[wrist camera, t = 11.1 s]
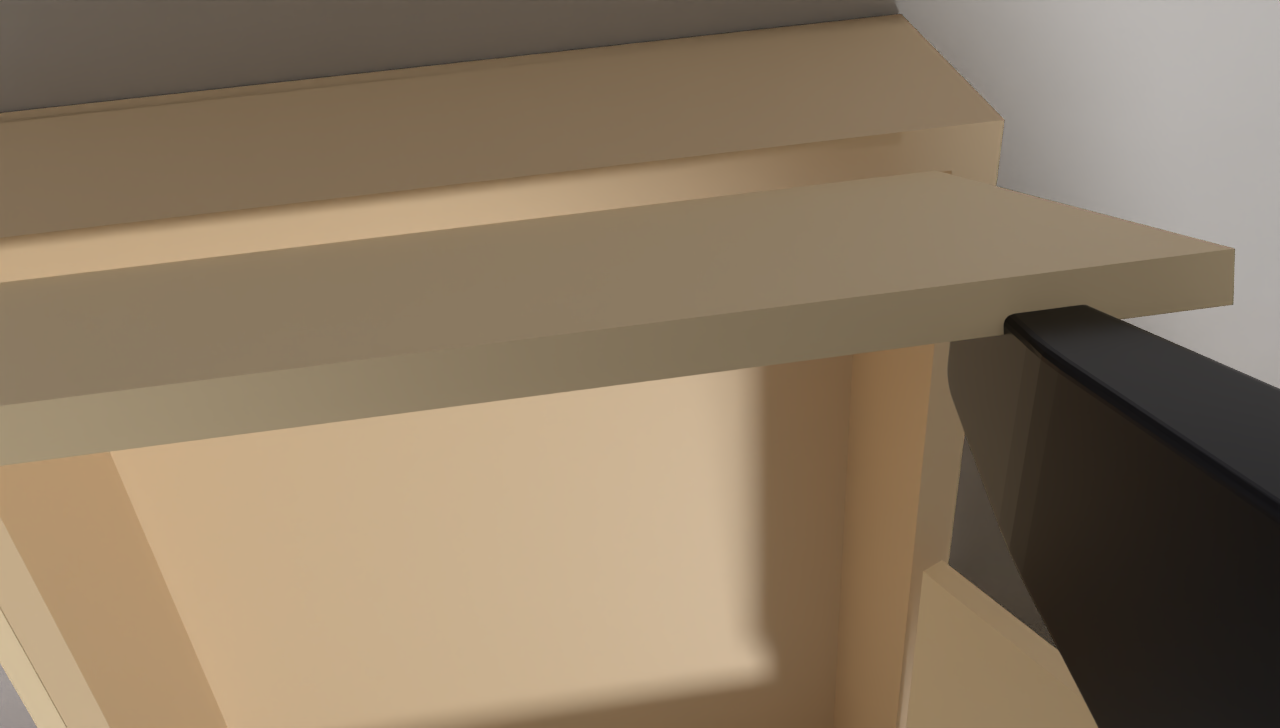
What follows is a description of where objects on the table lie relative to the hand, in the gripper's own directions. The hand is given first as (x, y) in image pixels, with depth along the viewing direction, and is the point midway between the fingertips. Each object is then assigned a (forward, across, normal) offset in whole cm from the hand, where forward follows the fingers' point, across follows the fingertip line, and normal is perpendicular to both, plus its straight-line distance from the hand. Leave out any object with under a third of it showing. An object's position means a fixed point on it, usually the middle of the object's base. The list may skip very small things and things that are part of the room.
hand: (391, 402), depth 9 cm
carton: (+9, 0, +10) cm, 14 cm away
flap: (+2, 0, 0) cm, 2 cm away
